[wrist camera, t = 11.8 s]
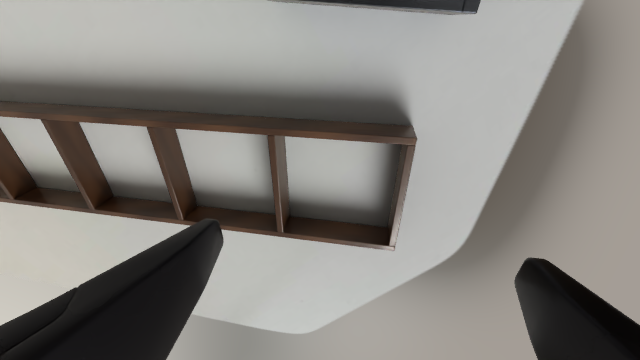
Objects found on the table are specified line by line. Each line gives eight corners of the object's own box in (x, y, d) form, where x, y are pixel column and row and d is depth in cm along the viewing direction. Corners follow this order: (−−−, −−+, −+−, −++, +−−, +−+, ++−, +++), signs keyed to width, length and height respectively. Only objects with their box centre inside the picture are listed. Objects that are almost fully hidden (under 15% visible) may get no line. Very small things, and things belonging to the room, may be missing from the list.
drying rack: (412, 125, 18) (417, 137, 16) (392, 232, 23) (394, 251, 21) (-173, 90, 26) (-216, 96, 24) (-95, 175, 30) (-125, 186, 29)
